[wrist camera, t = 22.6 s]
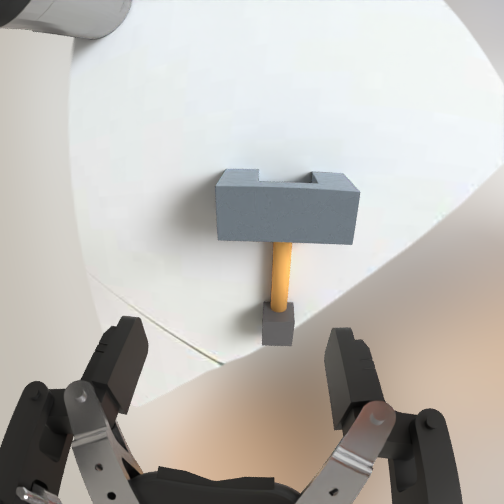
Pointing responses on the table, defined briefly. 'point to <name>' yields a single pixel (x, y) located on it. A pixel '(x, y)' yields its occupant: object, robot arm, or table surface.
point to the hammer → (279, 300)
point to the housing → (286, 208)
